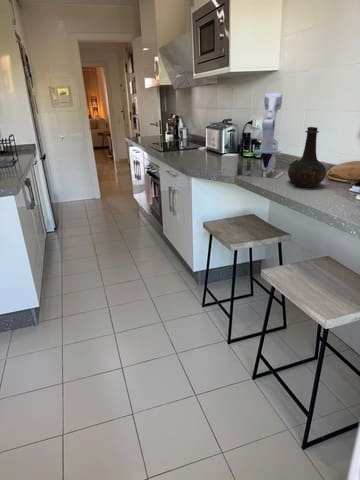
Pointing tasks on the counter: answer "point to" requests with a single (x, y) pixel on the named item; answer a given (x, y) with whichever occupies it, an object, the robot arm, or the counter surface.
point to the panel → (265, 175)
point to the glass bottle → (308, 164)
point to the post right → (248, 164)
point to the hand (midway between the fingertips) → (265, 167)
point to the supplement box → (230, 165)
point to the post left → (240, 168)
